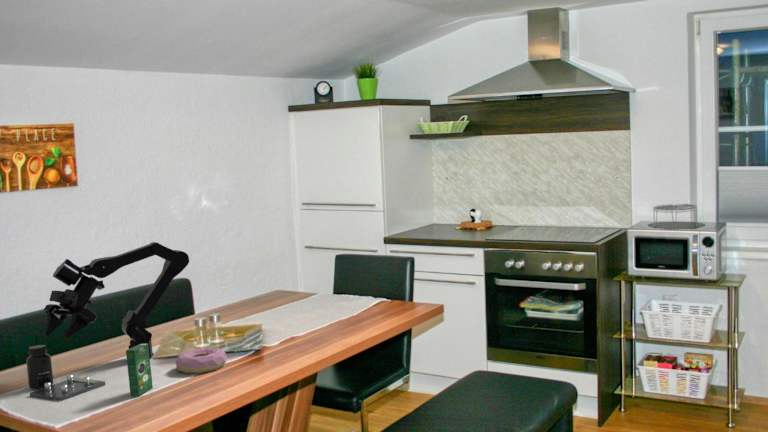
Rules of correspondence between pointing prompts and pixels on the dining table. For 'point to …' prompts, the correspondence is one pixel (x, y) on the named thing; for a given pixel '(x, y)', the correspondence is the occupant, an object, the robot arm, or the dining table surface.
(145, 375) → the coffee box
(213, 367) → the donut
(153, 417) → the dining table surface
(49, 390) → the chassis
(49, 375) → the supplement bottle
